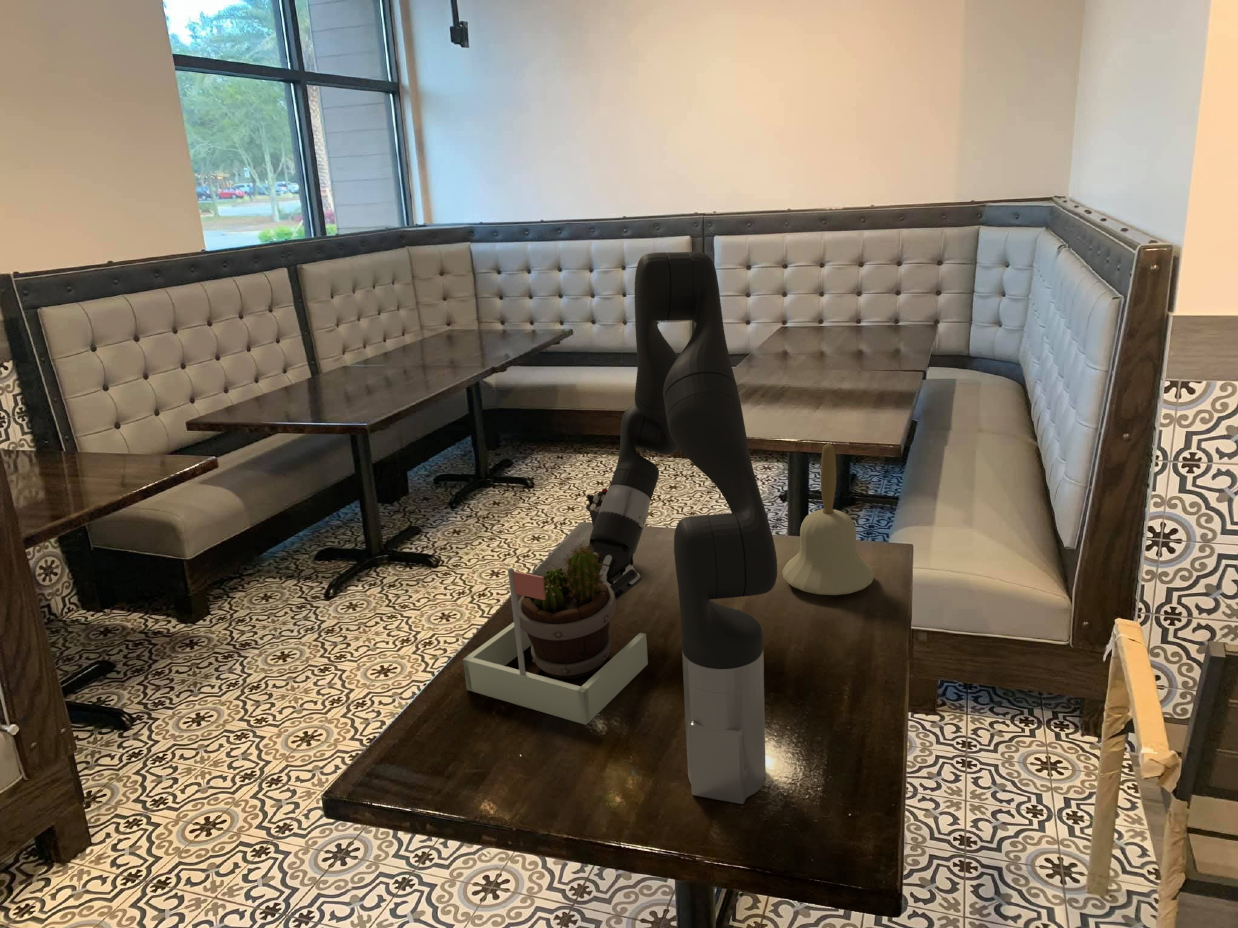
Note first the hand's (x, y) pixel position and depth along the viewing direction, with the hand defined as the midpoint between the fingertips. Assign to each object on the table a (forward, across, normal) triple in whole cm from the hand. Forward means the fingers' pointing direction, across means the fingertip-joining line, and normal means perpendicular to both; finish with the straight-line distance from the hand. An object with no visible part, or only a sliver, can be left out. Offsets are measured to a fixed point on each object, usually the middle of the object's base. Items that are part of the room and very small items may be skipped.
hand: (585, 623), depth 136 cm
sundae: (-19, -16, +26) cm, 36 cm away
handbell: (-22, +26, +30) cm, 45 cm away
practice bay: (+9, 0, -2) cm, 9 cm away
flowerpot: (+6, 0, +1) cm, 6 cm away
